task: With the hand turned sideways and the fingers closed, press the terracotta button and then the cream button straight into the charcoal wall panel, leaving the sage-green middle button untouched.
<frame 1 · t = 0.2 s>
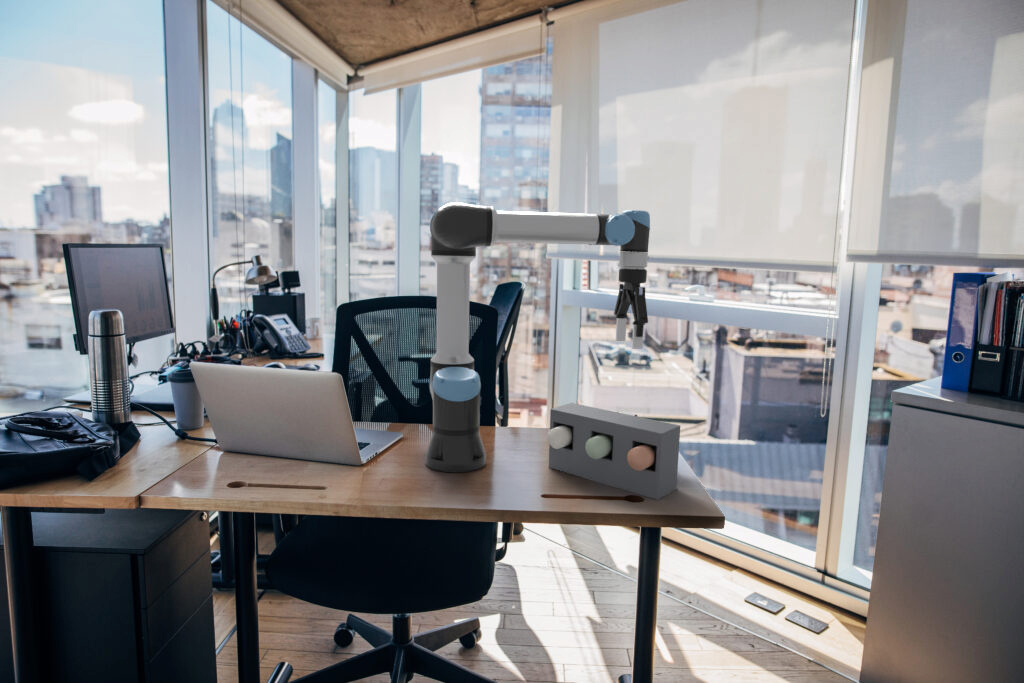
hand: (628, 344, 182), 28 cm above the table, tool pointing down, fingers open, 13 cm apart
puzzle cube: (612, 452, 177), on the table
button panel: (602, 481, 154), on the table
cream button: (560, 436, 158), point 9 cm above the table, slide at 0.0 cm
sage button: (599, 446, 151), point 9 cm above the table, slide at 0.0 cm
terracotta button: (641, 457, 144), point 9 cm above the table, slide at 0.0 cm
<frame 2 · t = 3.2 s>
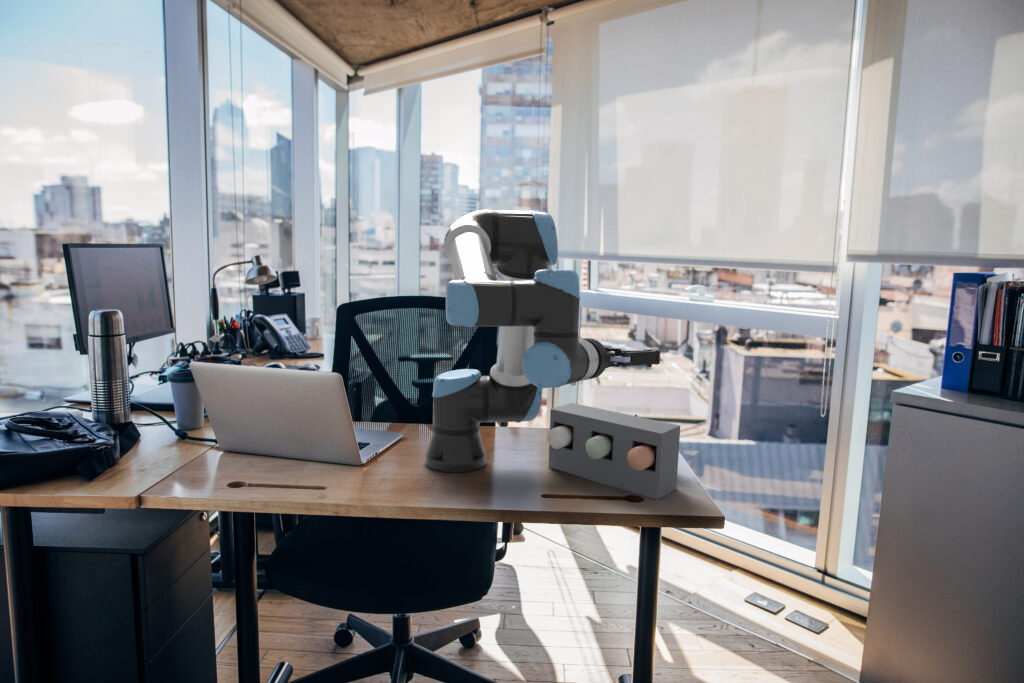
hand: (624, 352, 135), 33 cm above the table, tool horizontal, fingers open, 13 cm apart
nothing on the table moved.
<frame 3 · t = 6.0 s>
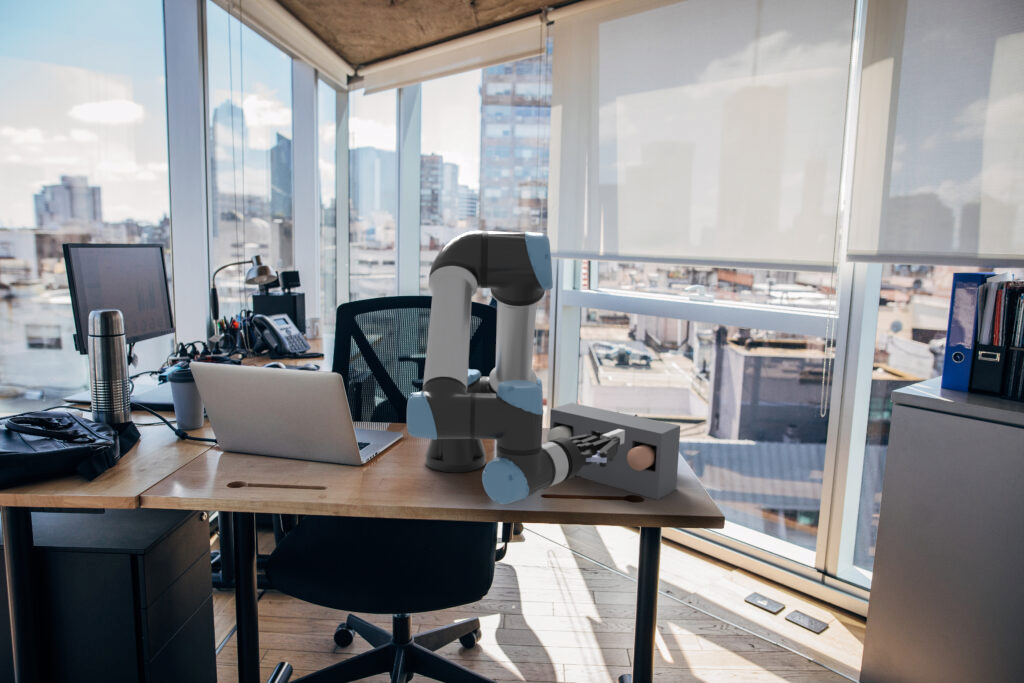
hand: (621, 435, 134), 16 cm above the table, tool horizontal, fingers closed
nothing on the table moved.
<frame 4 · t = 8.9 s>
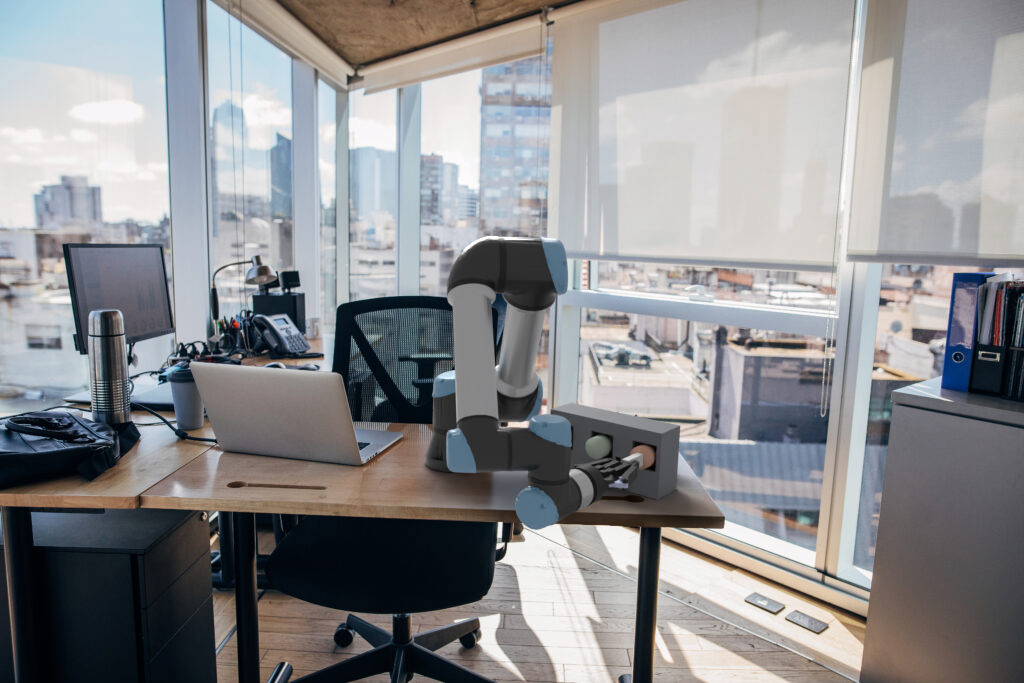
hand: (640, 459, 143), 9 cm above the table, tool horizontal, fingers closed
terracotta button: (644, 456, 145), point 9 cm above the table, slide at 1.1 cm, touching gripper
everything else where it was.
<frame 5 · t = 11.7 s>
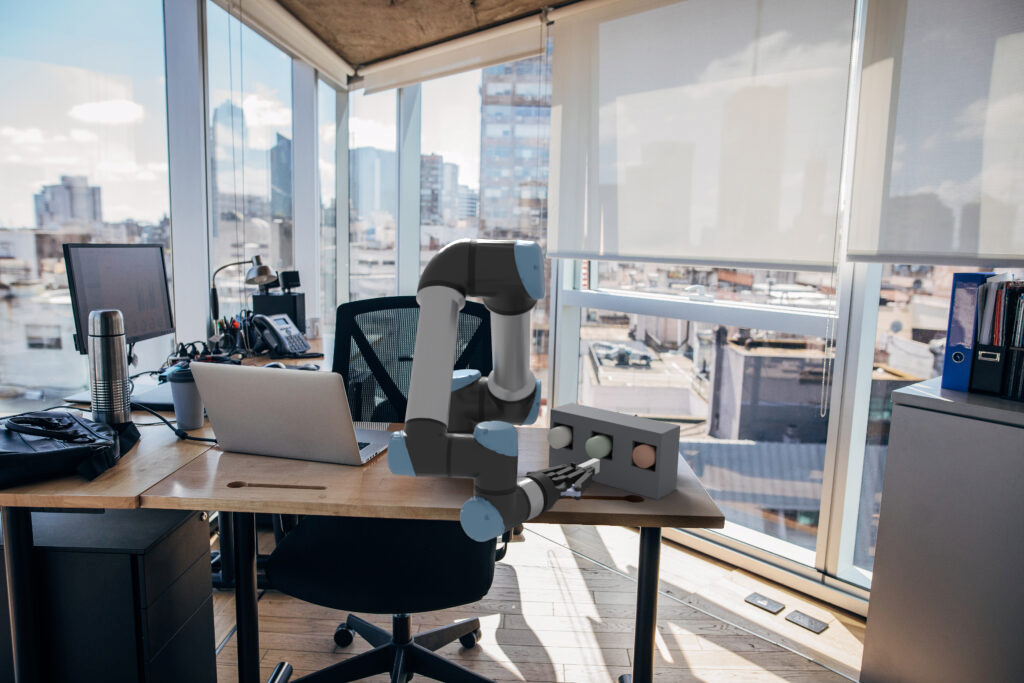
hand: (596, 465, 139), 9 cm above the table, tool horizontal, fingers closed
terracotta button: (646, 454, 146), point 9 cm above the table, slide at 2.3 cm
everything else where it was.
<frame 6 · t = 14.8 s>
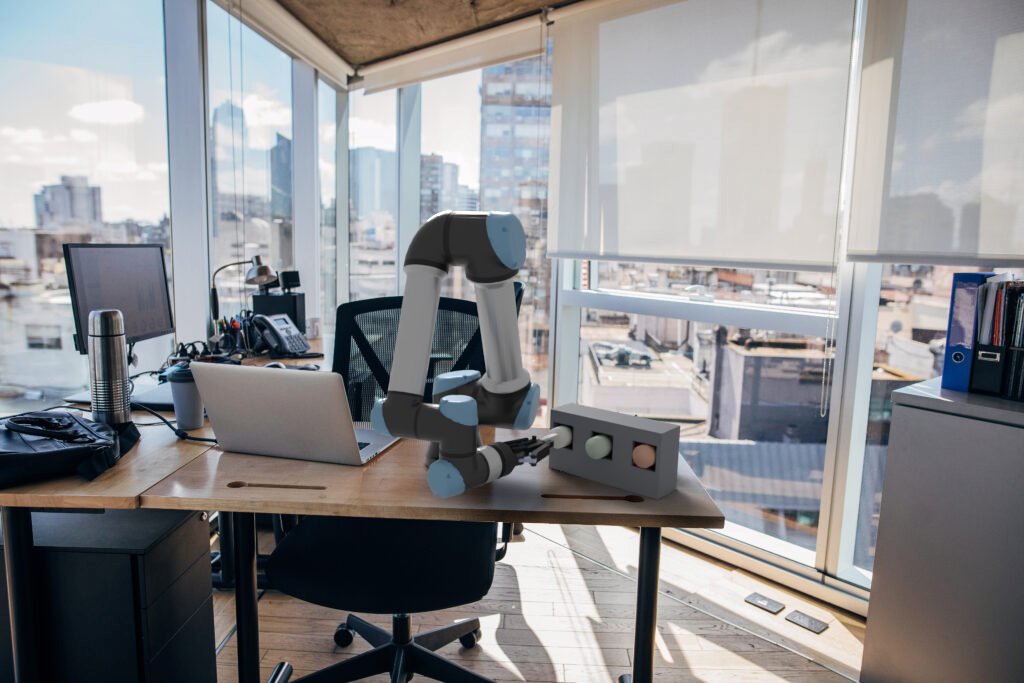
hand: (556, 439, 156), 9 cm above the table, tool horizontal, fingers closed
cream button: (561, 436, 158), point 9 cm above the table, slide at 0.3 cm, touching gripper
everything else where it was.
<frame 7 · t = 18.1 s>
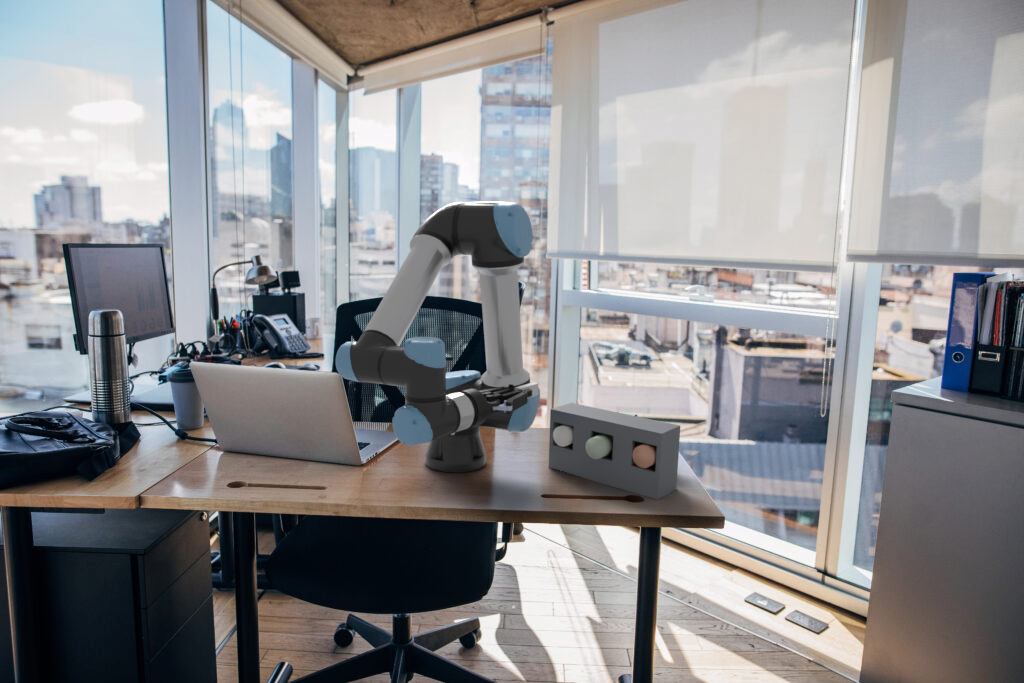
hand: (535, 388, 147), 23 cm above the table, tool horizontal, fingers closed
cream button: (566, 434, 159), point 9 cm above the table, slide at 2.3 cm
everything else where it was.
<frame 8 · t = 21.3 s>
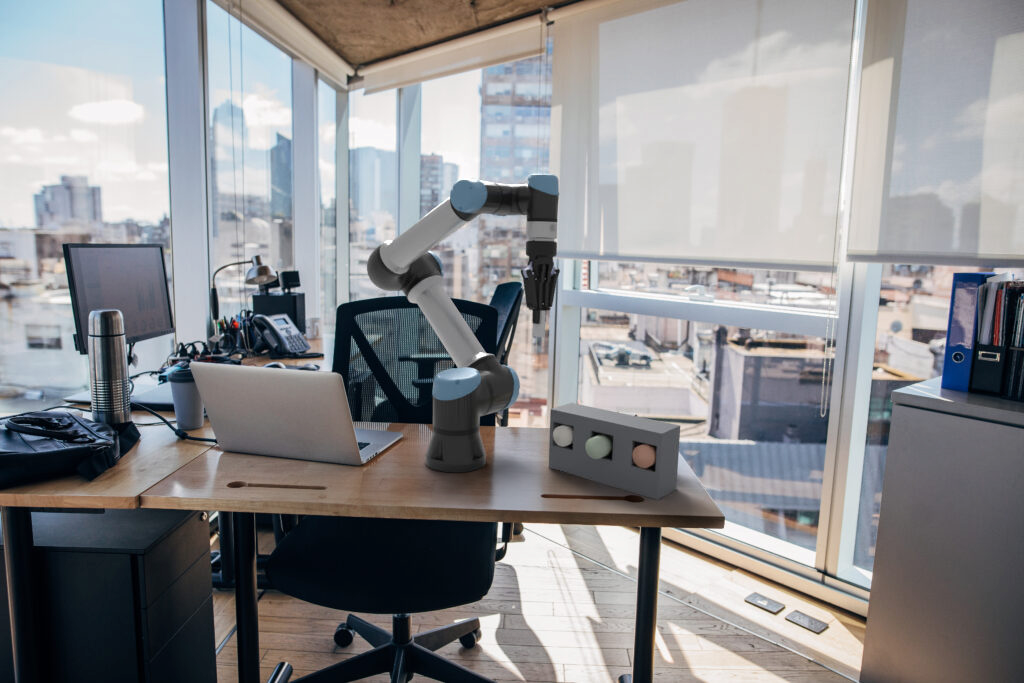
hand: (538, 336, 161), 32 cm above the table, tool pointing down, fingers closed
nothing on the table moved.
at the end: terracotta button slide at 2.3 cm; cream button slide at 2.3 cm; sage button slide at 0.0 cm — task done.
